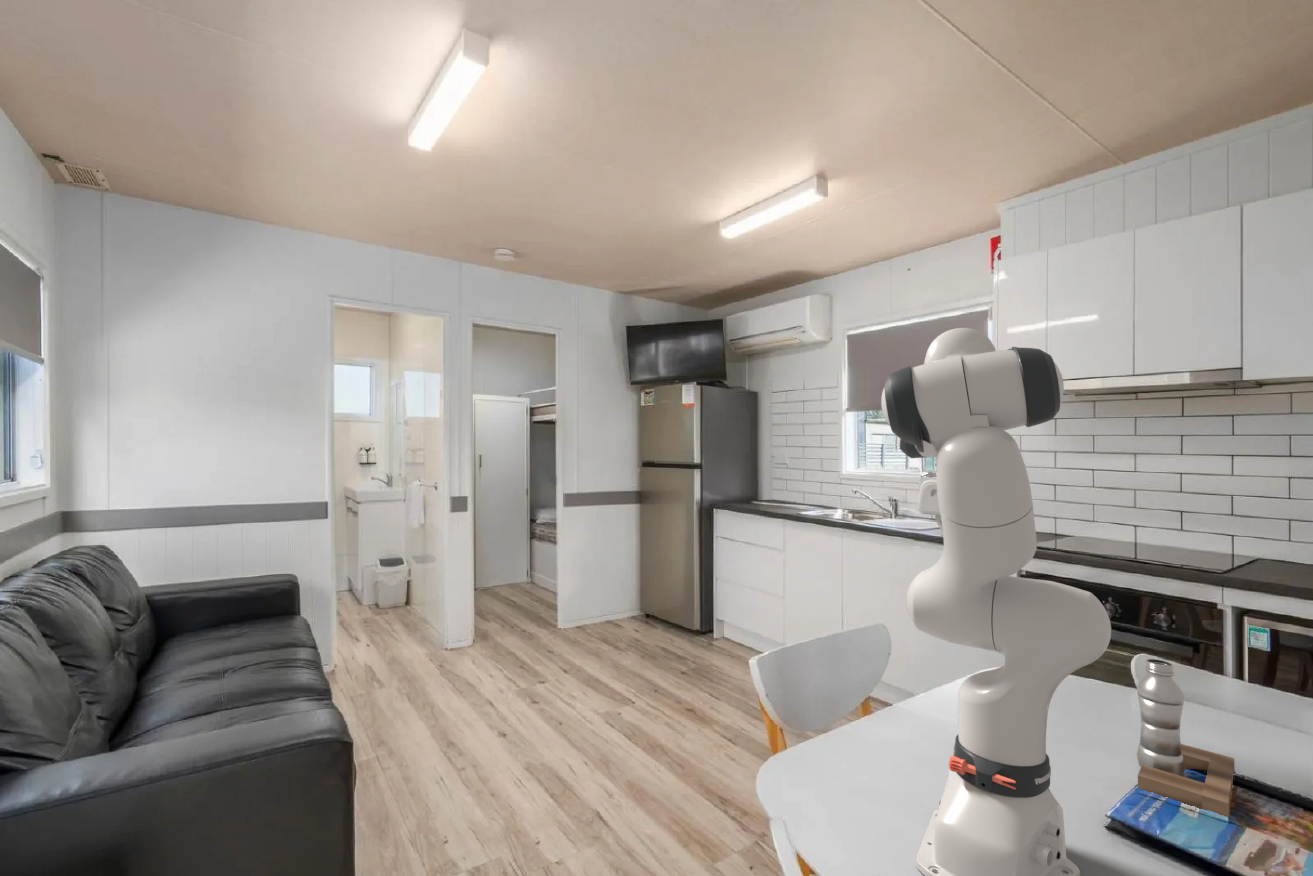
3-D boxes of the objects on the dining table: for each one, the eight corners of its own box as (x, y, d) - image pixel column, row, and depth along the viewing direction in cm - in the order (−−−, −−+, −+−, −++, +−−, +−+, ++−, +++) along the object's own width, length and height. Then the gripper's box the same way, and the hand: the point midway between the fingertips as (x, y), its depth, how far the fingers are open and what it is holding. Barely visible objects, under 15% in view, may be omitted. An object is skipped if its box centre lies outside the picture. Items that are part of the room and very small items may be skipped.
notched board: (1228, 823, 92) (1228, 803, 92) (1137, 793, 100) (1137, 775, 100) (1234, 775, 106) (1234, 758, 106) (1154, 752, 114) (1154, 736, 114)
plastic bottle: (1167, 768, 108) (1166, 657, 109) (1195, 788, 101) (1193, 670, 102) (1128, 764, 109) (1127, 655, 110) (1153, 785, 102) (1151, 668, 103)
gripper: (912, 471, 129) (913, 535, 129) (1019, 474, 114) (1020, 546, 114) (924, 471, 134) (925, 533, 133) (1028, 474, 119) (1029, 543, 118)
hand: (969, 539), depth 123 cm, fingers open, 8 cm apart
